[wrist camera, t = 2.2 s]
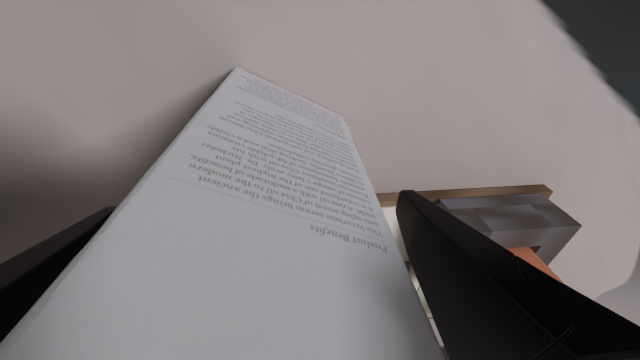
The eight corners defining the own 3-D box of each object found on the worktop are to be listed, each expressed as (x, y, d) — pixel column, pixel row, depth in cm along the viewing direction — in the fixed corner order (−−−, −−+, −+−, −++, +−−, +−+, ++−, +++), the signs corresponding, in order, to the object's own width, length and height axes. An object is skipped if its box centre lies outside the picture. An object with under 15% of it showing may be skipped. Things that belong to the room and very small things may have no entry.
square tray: (300, 321, 26) (301, 365, 23) (287, 198, 16) (286, 245, 13) (463, 307, 27) (485, 347, 24) (543, 184, 18) (598, 224, 14)
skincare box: (213, 139, 14) (12, 480, 4) (235, 63, 12) (-84, 392, 2) (313, 175, 16) (343, 463, 6) (347, 116, 13) (483, 411, 4)
